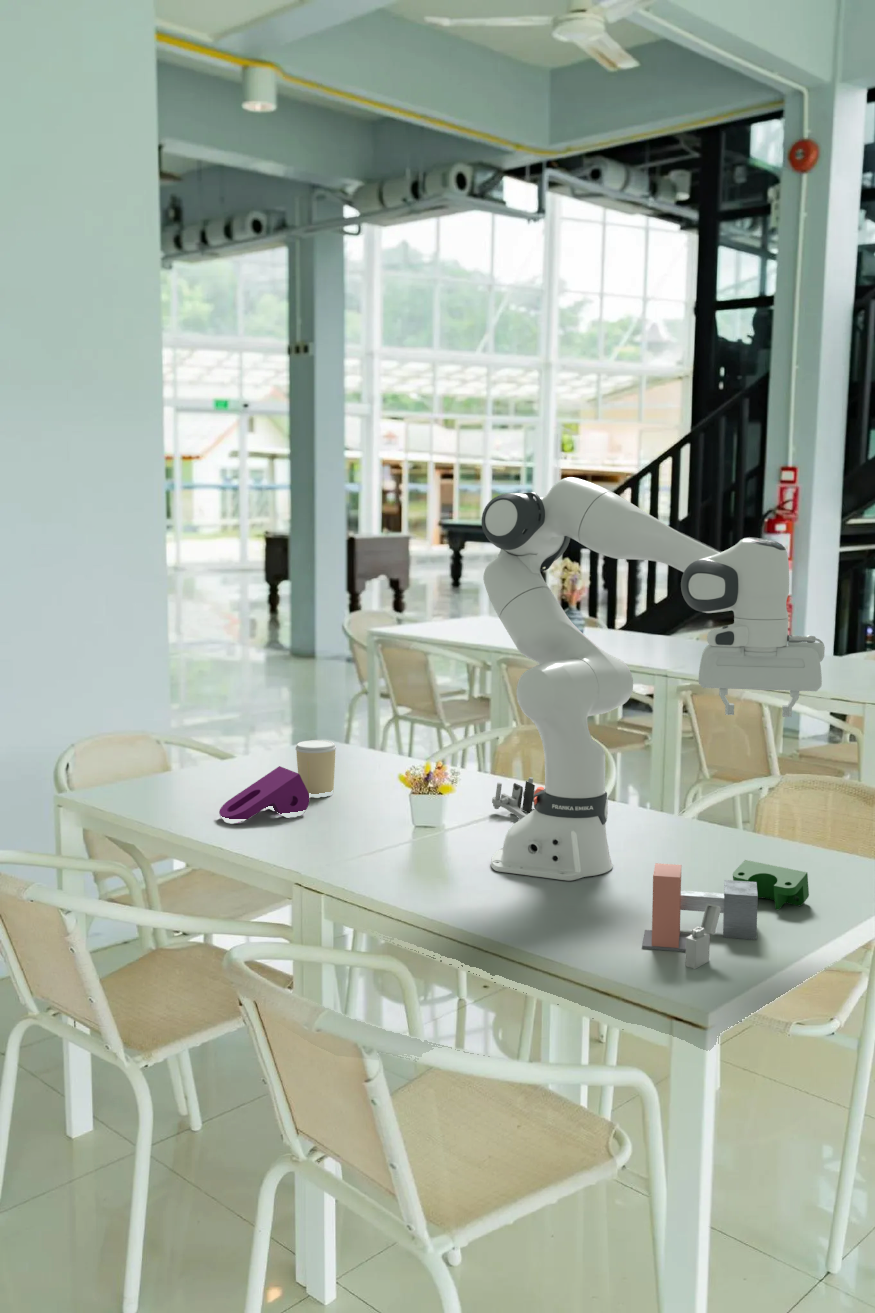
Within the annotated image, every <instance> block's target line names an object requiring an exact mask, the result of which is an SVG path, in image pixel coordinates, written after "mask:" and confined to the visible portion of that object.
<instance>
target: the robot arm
mask: <svg viewBox="0 0 875 1313" xmlns="http://www.w3.org/2000/svg"><path fill="white" fill-rule="evenodd" d="M481 527H482V528H481V529H482V531H483V533H484V535H485V537H486V538H487V540H488V541H489V542H490V543H491V544H493V545H494V546H495V547H496V548H498V549H499V550H500V551H499V554H498V555H497V557H495V558H493V559H492V560H491V561H490V562H489V563H488V564H487V566H486V567H485V569H484V572H483V584H484V587H485V590H486V593H487V595H488V598H489V600H490V603H491V605H492V607H493V609H494V611H495V613H496V615H497V617H498V618H499V619H500V622H501V624H502V625H503V626H504V629H505V630H506V632H507V633H508V635H509V637H510V638H511V640H512V642H513V643H514V645H515V647H516V649H517V650H518V652H519V653H521V654H522V655H523V656H525V658H527V659H529V660H532V661H534V662H536V663H537V665H535V666H533V667H531V668H528V669H527V670H525V671H524V672H522V674H521V676H519V679H518V681H517V685H516V693H515V694H516V699H517V700H516V701H517V704H518V706H519V707H520V710H521V711H522V713H523V714H524V715H525V716H526V717H527V718H528V719H530V720H531V722H532V723H533V724H534V726H535V727H536V729H537V731H538V733H539V736H540V739H541V742H542V743H541V744H542V748H543V755H544V757H543V758H544V786H538V787H536V789H534V790H535V792H534V802H533V808H534V809H533V810H532V811H531V812H530V813H526V816H524V817H523V818H522V819H520V818H519V820H517V821H516V822H515V823H514V824H512V825H511V826H510V827H509V829H508V830H507V832H506V833H505V834H506V835H505V837H504V840H503V846H502V848H500V849H498V850H496V851H495V852H494V854H492V856H491V861H490V867H491V868H492V870H494V871H496V872H500V873H509V874H515V875H516V874H517V875H524V876H531V877H538V878H546V879H554V880H561V881H569V882H570V881H575V880H576V881H577V880H579V879H581V878H584V877H585V878H586V877H592V876H598V875H602V874H606V873H608V872H610V871H611V870H612V868H613V866H614V864H613V862H612V858H611V856H610V855H611V854H610V849H609V844H608V837H607V835H608V834H607V826H606V825H607V824H606V823H607V821H608V812H609V810H608V809H609V806H608V805H609V804H608V802H609V801H608V800H609V799H608V792H607V790H606V752H605V750H604V748H603V746H602V745H601V744H600V743H598V742H597V741H595V739H593V737H592V735H591V732H590V730H589V724H588V717H593V716H597V715H603V714H607V713H610V712H612V711H614V710H616V709H618V708H619V707H621V706H623V705H624V704H626V703H627V702H628V701H629V699H630V697H631V696H632V694H633V688H634V679H633V674H632V672H631V670H630V668H629V666H628V665H627V663H625V662H624V661H623V660H621V659H620V658H618V657H615V656H613V655H611V654H609V653H608V652H605V651H604V650H603V649H602V648H600V647H599V646H597V645H596V643H594V642H593V641H592V640H591V639H589V637H587V636H586V635H585V634H584V633H583V632H582V631H581V630H580V629H579V628H578V627H577V626H576V625H575V624H574V623H573V622H572V621H571V619H570V618H569V616H568V615H567V614H566V612H565V610H564V609H563V607H562V605H561V603H559V601H558V599H557V598H556V596H555V595H554V594H553V592H552V590H551V589H550V587H549V585H548V583H547V582H546V581H545V579H544V577H543V575H542V573H541V572H545V571H547V570H548V569H550V568H551V566H552V565H553V564H554V562H556V561H557V560H558V559H559V558H560V557H561V556H562V555H563V554H564V553H565V551H566V550H567V548H568V547H569V543H570V542H571V539H572V540H574V541H576V542H578V543H579V544H581V545H582V546H584V547H586V548H587V549H589V550H590V551H592V552H595V553H597V554H600V555H603V556H605V557H609V558H611V559H615V560H616V559H618V560H640V561H641V560H642V561H651V562H657V563H661V564H665V565H668V566H670V567H672V568H674V569H676V570H678V571H680V572H682V573H683V574H682V576H681V580H680V581H681V582H680V588H681V590H680V591H681V594H682V596H683V599H684V601H685V602H686V604H687V605H688V606H689V607H690V608H691V609H693V610H695V611H697V612H701V613H706V614H712V613H723V612H729V611H732V612H733V616H734V617H733V620H734V621H733V623H732V624H728V625H725V626H722V627H719V628H713V629H711V630H710V631H708V633H707V635H706V642H707V644H708V645H706V646H705V648H704V649H703V650H702V651H703V652H702V654H701V658H700V664H699V671H698V679H697V680H698V681H697V682H698V684H699V685H700V687H701V688H703V689H718V691H719V692H718V694H719V695H718V696H719V697H720V699H721V701H722V702H723V705H724V707H725V708H724V709H725V712H724V713H725V715H726V716H729V715H730V716H734V715H735V703H734V702H732V703H731V702H729V700H728V698H727V697H726V696H728V691H729V690H759V691H760V690H761V691H789V696H790V697H791V699H790V700H789V702H788V704H783V705H782V711H781V712H782V713H781V714H782V715H781V716H782V717H784V718H785V717H786V718H792V714H793V708H794V706H795V704H796V703H797V701H798V700H799V698H800V692H817V691H819V690H820V688H821V687H822V686H823V685H822V682H823V680H822V668H821V663H822V661H823V660H824V657H825V651H826V650H825V644H824V642H823V640H821V639H819V638H816V637H817V636H814V635H806V636H805V635H795V634H794V635H793V634H791V635H790V634H789V612H788V610H787V609H788V608H787V601H788V597H789V594H790V564H789V556H788V552H787V549H786V548H785V546H783V544H782V543H780V542H778V541H775V540H771V539H766V538H761V537H760V538H758V537H744V538H742V539H740V540H739V541H738V542H737V543H735V545H733V546H731V547H730V548H728V549H725V550H724V551H721V550H719V549H716V548H714V547H712V546H711V545H708V544H706V543H704V542H701V541H700V540H698V539H696V538H693V537H691V536H689V535H688V534H685V533H683V532H681V531H678V530H677V529H675V528H673V527H671V526H669V525H668V524H666V523H664V522H662V521H661V520H659V519H658V518H657V517H654V516H653V515H651V514H649V513H648V512H646V511H645V510H643V509H642V508H640V507H638V506H636V505H635V504H633V503H632V502H630V501H628V500H627V499H625V498H624V497H621V496H620V495H619V494H616V493H615V492H614V491H611V490H609V489H607V488H605V487H603V486H601V485H598V484H597V483H593V482H591V481H589V480H585V479H583V478H582V479H581V478H579V477H573V476H569V477H564V478H562V479H560V480H558V481H557V482H556V483H554V485H552V487H551V488H550V490H549V491H548V493H546V495H545V496H542V497H540V496H539V495H538V494H537V493H536V492H533V491H531V492H530V491H529V492H519V493H518V492H515V493H514V492H511V493H503V494H499V495H497V496H495V497H493V498H492V499H491V500H490V501H489V502H488V503H487V504H486V505H485V507H484V509H483V512H482V516H481Z"/></svg>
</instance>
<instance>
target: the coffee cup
mask: <svg viewBox="0 0 875 1313" xmlns="http://www.w3.org/2000/svg"><path fill="white" fill-rule="evenodd" d="M336 750H337V746H336V744H335V742H333V741H330V740H326V739H323V740H322V739H321V740H320V739H312V740H303V741H299V742H298V743H296V746H295V751H296V762H297V764H296V766H297V773H298V774H300V776H301V779H302V781H303V783H304V785H305V787H306V789H307V791H308V793H311V794H319V793H325V792H331V791H332V790H333V791H334V784H335V771H336V770H335V768H336Z"/></svg>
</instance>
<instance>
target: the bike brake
mask: <svg viewBox="0 0 875 1313" xmlns="http://www.w3.org/2000/svg"><path fill="white" fill-rule="evenodd" d="M533 782H534V777H532V776H531V777H530V776H529V777H528V781H527V780H526V781H525V783H524V785H525V786H524V788H523V786H521V785H520V784H518V783H517V782H514V783H513V785H512V793H511V795H508V794H506V793H502V785H503V783H502V782H497V784H496V791H495V796H493V797H492V799H491V804H492V806H493V808H494V809H495V810H499V808H500V807H501V808H503V809H505V810H507V811H509V812H510V813H512V814H513V815H515V816H516V817H518V818H519V820H520V819H522V818H523V817H524V816H526V815H527V813H528V812H531V811H533V810H532V809H533V804H534V792H535V790H536V789H535V787H536V785H535V784H533ZM522 800H523V801H522ZM521 806H522V808H521ZM523 810H525V811H526V812H525V811H524V812H525V813H524V812H523Z"/></svg>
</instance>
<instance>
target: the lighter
mask: <svg viewBox="0 0 875 1313" xmlns="http://www.w3.org/2000/svg"><path fill="white" fill-rule="evenodd" d="M720 911H721V908H720V907H719V906H716V905H712V904H707V905H706V909H705V912H704V914H703V917H702V922H701V925H700V926H696V927H694V928H693V929H691V930H692V931H691V934H690V936H688V937H686V952H685V958H684V959H685V962H684V963H685V967H687V968H689V969H697V968H698V969H699V968H700V967H702V966H703V965H705V964H707V963H709V962H710V943H711V942H710V940H711V937H710V936H711V935H715V933H716V930H717V926H718V922H719V917H720V914H721V913H720Z"/></svg>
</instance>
